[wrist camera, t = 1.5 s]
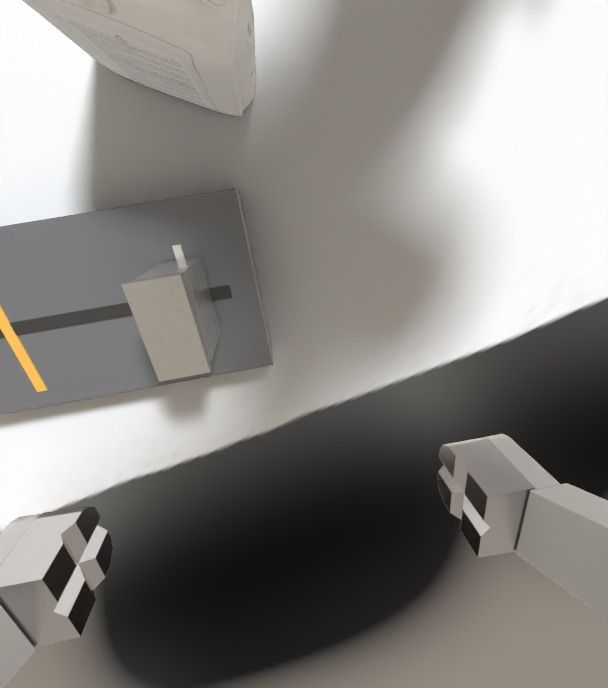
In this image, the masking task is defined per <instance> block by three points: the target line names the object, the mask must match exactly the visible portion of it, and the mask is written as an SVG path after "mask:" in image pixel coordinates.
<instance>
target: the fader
mask: <svg viewBox="0 0 608 688" xmlns="http://www.w3.org/2000/svg"><path fill="white" fill-rule="evenodd" d="M121 285H122V288H123V291H124V293H125V296H126V298H127V301H128V303H129V306H130V308H131V311H132V314H133V316H134V319H135V321H136V324H137V326H138V329H139V332H140V334H141V337H142V339H143V342H144V344H145V347H146V349H147V352H148V355H149V357H150V360H151V362H152V365H153V367H154V370H155V373H156V375H157V378H158V380H159V382H160V381H166V380H171V379H177V378H182V377H188V376H193V375H199V374H204V373H210V372H211V369H212V367H211V361H212V358H213V355H214V352H215V349H216V346H217V342H218V339H219V336H220V333H221V330H220V327H219V323H218V319H217V316H216V312H215V308H214V305H213V301H212V298H211V294H210V290H209V287H208V283H207V280H206V276H205V272H204V269H203V265H202V261H201V258H200V256H199V257H194V258H188V259H182V260H176V261H170V262H164V263H159V264H157V265H156V266H154V267H152V268H151V269H149V270H148V271H146V272H145V273H143V274H142V275H140V276H139V277H137V278H136V279H134V280H132V281H128V282H125V283H123V284H121Z"/></svg>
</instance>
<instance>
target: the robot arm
mask: <svg viewBox="0 0 608 688" xmlns="http://www.w3.org/2000/svg"><path fill="white" fill-rule="evenodd" d="M439 458H440V460H441V461H442V463H443V464H444V465H443V467H442V468H441V469H440V470H439V472H438V486H439V490H440V494H441V497H442V499H443V501H444V504H445V505H446V507H447V509H448V510H449V512H450V513H451V514H453V515H455V516H456V517H458V518H459V519H461V531H462V533H463V535H464V536H465V538H466V539H467V541H468V543H469V544H470V546H471V547H472V549H473V551H474V552H475V554H476V555H477V557H485V556H490V555H497V554H503V553H509V552H515V551H516V554H517V555H518V556H520V557H521V558H522V559H524V560H525V561H527V562H528V563H529V564H531V565H532V566H533V567H535V568H536V569H537V570H539V571H540V572H541V573H543V574H544V575H546V576H547V577H548V578H550V579H551V580H552V581H554V582H555V583H556V584H558V585H559V586H560V587H562V588H563V589H564V590H566V591H567V592H568V593H570V594H571V595H573V596H574V597H575V598H577V599H578V600H579V601H581V602H582V603H583V604H585V605H586V606H588V607H589V608H590V609H592V610H593V611H594V612H596V613H597V614H598V615H600V616H601V617H603V618H604V619H605V620H607V621H608V501H607V500H605V499H602V498H600V497H598V496H595V495H593V494H591V493H588V492H586V491H584V490H582V489H579V488H577V487H575V486H572V485H570V484H560V483H559V482H557V481H556V480H555V479H554V478H553V477H552V476H551V475H550V474H549V473H548V472H547V471H545V470H544V469H543V468H542V467H541V466H540V465H539V464H538V463H537V462H536V461H535V460H534V459H533V458H531V457H530V456H529V455H528V454H527V453H526V452H525V451H524V450H523V449H522V448H521V447H519V445H517V444H516V443H515V442H514V441H513V440H512V439H511V438H510V437H508V436H507V435H504V434H499V435H494V436H488V437H483V438H478V439H473V440H467V441H462V442H456V443H451V444H445V445H442V447H441V449H440V455H439ZM100 518H101V517H100V515H99V513H98V511H97V509H96V508H95V507H90V506H87V507H81V508H75V509H67V510H60V511H53V512H47V513H43V514H36V515H29V516H23V517H19V518H17V519H16V520H14V521H12V522H11V523H10V524H9V525H8V526H7V528H6V529H5V530H4V531H3V533H2V534H1V535H0V688H4V686H5V685H6V684H7V683H8V682H9V680H10V679H11V678H12V677H13V676H14V675H15V673H16V672H17V671H18V670H19V669H20V667H21V666H22V665H23V664H24V663H25V661H27V659H28V658H29V657H30V656H31V655H32V654H33V652H34V651H35V647H38V646H42V645H46V644H51V643H55V642H59V641H64V640H68V639H72V638H77V637H80V636H81V634H82V632H83V630H84V627H85V625H86V623H87V620H88V618H89V615H90V613H91V611H92V608H93V606H94V604H95V601H96V597H95V594H94V589H95V587H97V585H98V584H99V583H100V582H101V581H102V580H103V579H104V578H105V577H106V575H107V572H108V569H109V567H110V564H111V559H112V552H113V546H112V539H111V537H110V535H109V532H108V531H107V530H105V529H104V528H102V527H100V526H98V523H99V520H100Z"/></svg>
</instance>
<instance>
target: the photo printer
mask: <svg viewBox="0 0 608 688" xmlns="http://www.w3.org/2000/svg"><path fill="white" fill-rule="evenodd" d="M23 1H24V2H25V3H27V4H28V5H29V6H30V7H32V8H33V9H34V10H35V11H36V12H38V13H39V14H40V15H41V16H43V17H44V18H45V19H46V20H47V21H49V22H50V23H51V24H52V25H54V26H55V27H56V28H57V29H58V30H60V31H61V32H62V33H63V34H64V35H66V36H67V37H68V38H69V39H71V40H72V41H73V42H74V43H75V44H77V45H78V46H79V47H80V48H82V49H83V50H84V51H85V52H86V53H88V54H89V55H90V56H91V57H92V58H94V59H95V60H96V61H97V62H99V63H100V64H102V65H103V66H105V67H106V68H108V69H110V70H111V71H113V72H115V73H117V74H119V75H121V76H123V77H126V78H128V79H131V80H133V81H135V82H138V83H140V84H142V85H145V86H148V87H151V88H153V89H156V90H158V91H161V92H164V93H166V94H169V95H172V96H175V97H177V98H180V99H183V100H186V101H188V102H191V103H194V104H197V105H200V106H202V107H205V108H208V109H211V110H215V111H218V112H221V113H224V114H229V115H235V116H242V113H243V110H245V109H246V108H247V107H248V106H249V104H250V103H251V101H252V99H253V97H254V93H255V88H256V67H255V36H254V16H253V8H252V3H251V0H23Z"/></svg>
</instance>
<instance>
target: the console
mask: <svg viewBox="0 0 608 688" xmlns="http://www.w3.org/2000/svg"><path fill="white" fill-rule="evenodd" d="M199 256H200V258H201V261H202V265H203V269H204V272H205V276H206V280H207V283H208V287H209V290H210V294H211V298H212V301H213V305H214V308H215V312H216V316H217V319H218V323H219V327H220V330H221V333H220V336H219V339H218V342H217V346H216V349H215V352H214V355H213V358H212V361H211V367H212V369H211V372H210V373H204V374H199V375H193V376H188V377H182V378H177V379H171V380H166V381H160V382H159V380H158V378H157V375H156V373H155V370H154V367H153V365H152V362H151V360H150V357H149V355H148V352H147V349H146V347H145V344H144V342H143V339H142V337H141V334H140V332H139V329H138V326H137V324H136V321H135V319H134V316H133V314H132V311H131V308H130V306H129V303H128V301H127V298H126V296H125V293H124V291H123V288H122V285H121V284H123V283H125V282H128V281H132V280H134V279H136V278H137V277H139V276H140V275H142V274H143V273H145V272H146V271H148V270H149V269H151V268H152V267H154V266H156V265H157V264H159V263H164V262H170V261H176V260H182V259H188V258H194V257H199ZM268 365H273V355H272V347H271V342H270V337H269V332H268V327H267V323H266V318H265V313H264V308H263V304H262V299H261V294H260V289H259V285H258V280H257V275H256V270H255V266H254V261H253V256H252V251H251V247H250V242H249V237H248V232H247V228H246V223H245V218H244V213H243V209H242V204H241V199H240V194H239V190H238V189H230V190H224V191H218V192H211V193H205V194H199V195H193V196H187V197H181V198H174V199H168V200H162V201H156V202H150V203H143V204H137V205H131V206H125V207H119V208H113V209H106V210H100V211H94V212H88V213H82V214H76V215H69V216H63V217H57V218H51V219H45V220H39V221H32V222H26V223H20V224H14V225H8V226H2V227H0V415H2V414H7V413H13V412H18V411H23V410H29V409H34V408H40V407H45V406H51V405H56V404H62V403H67V402H72V401H78V400H83V399H89V398H94V397H100V396H105V395H111V394H116V393H121V392H127V391H132V390H138V389H143V388H149V387H154V386H160V385H165V384H170V383H176V382H181V381H187V380H192V379H198V378H203V377H209V376H214V375H219V374H225V373H230V372H236V371H241V370H247V369H252V368H258V367H263V366H268Z"/></svg>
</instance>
